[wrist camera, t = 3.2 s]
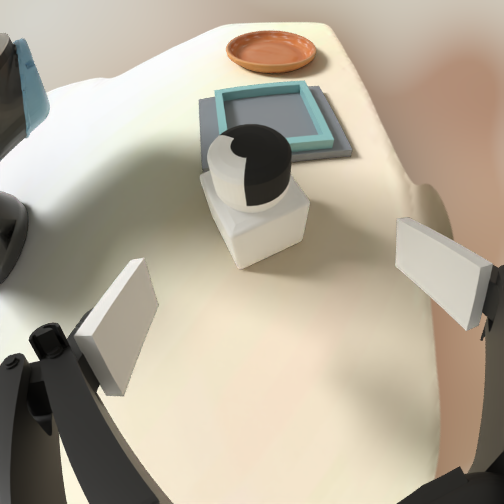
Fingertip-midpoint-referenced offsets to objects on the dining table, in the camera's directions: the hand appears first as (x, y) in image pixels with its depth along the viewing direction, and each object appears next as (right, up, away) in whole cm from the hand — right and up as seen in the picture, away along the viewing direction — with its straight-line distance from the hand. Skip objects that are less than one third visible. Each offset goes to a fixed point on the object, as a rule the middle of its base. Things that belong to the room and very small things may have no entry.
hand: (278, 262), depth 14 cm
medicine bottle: (-1, +3, +16) cm, 17 cm away
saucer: (+2, +36, +31) cm, 47 cm away
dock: (+1, +17, +22) cm, 28 cm away
